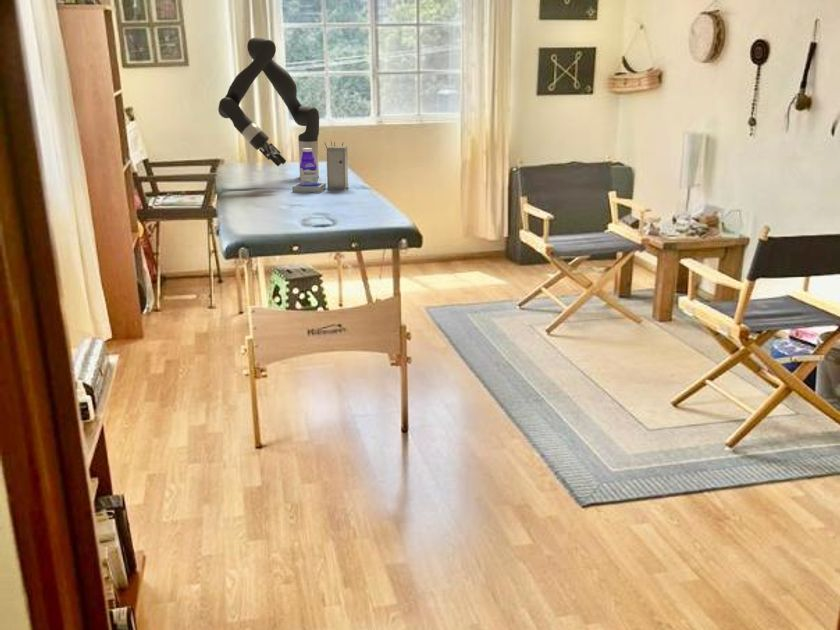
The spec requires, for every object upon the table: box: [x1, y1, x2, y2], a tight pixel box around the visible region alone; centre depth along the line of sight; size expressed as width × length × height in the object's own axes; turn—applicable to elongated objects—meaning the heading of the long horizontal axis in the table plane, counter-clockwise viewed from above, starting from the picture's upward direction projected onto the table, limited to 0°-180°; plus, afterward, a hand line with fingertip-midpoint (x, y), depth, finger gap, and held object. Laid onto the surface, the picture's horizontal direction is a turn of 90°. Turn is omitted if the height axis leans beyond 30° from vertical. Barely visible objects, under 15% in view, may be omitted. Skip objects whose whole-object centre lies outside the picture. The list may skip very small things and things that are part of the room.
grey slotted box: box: [326, 145, 349, 190], centre depth 355 cm, size 7×8×18 cm
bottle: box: [299, 148, 318, 187], centre depth 348 cm, size 7×6×17 cm
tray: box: [291, 182, 327, 193], centre depth 351 cm, size 12×12×2 cm
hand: (282, 163), depth 349 cm, fingers open, 8 cm apart
